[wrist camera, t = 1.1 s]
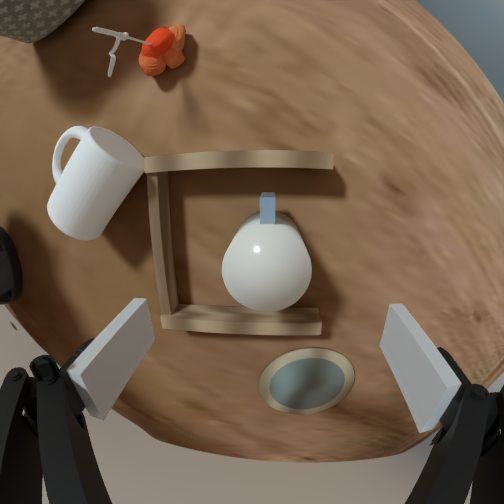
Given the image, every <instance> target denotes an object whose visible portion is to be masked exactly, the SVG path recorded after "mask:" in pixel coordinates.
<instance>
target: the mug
mask: <svg viewBox="0 0 504 504" xmlns="http://www.w3.org/2000/svg"><path fill="white" fill-rule="evenodd" d="M72 137H75V138H77V139H79V140H81V141H80V143H79V144H78V146H77V148H76V149H75V151H74V153H73V154H72V156H71V158H70V160H69V161H68V163H67V165H66V167H65V169H64V171H63V172H62V169H61V164H60V162H61V156H62V153H63V151H64V148H65V146H66V144H67V142H68V141H69V139H70V138H72ZM52 171H53V177H54V180H55V182H56V186H55V188H54V190H53V192H52V194H51V197H50V199H49V201H48V205H47V210H48V214H49V216H50V218H51V220H52V222H53V223H54V224H55V225H56V227H57V228H59V229H60V230H61V231H62V232H64V233H65V234H67V235H68V236H70V237H73V238H75V239H79V240H86V241H87V240H94V239H96V238H98V237H99V236H100V235H101V234H102V232H103V231H104V229H105V227H106V226H107V224H108V223H109V221H110V220H111V218H112V217H113V215H114V213H115V212H116V210H117V209H118V208H119V206H120V205H121V203H122V202H123V200H124V199H125V197H126V196H127V195H128V193H129V192H130V190H131V189H132V188H133V186H134V185H135V183H136V182H137V181H138V179H139V178H140V177H141V175H142V174H143V173H144V158H143V156H142V155H141V154H140V152H139V151H138V150H137V149H136V148H135V147H134V146H132V145H131V144H130V143H129V142H128V141H126V140H125V139H124V138H122V137H121V136H119V135H117V134H116V133H114V132H112V131H110V130H108V129H105V128H102V127H90V128H89V129H87V128H85V127H83V126H74V127H72V128H70V129H68V130H67V131H66V132H65V133H64V134H63V135H62V136H61V137H60V139H59V140H58V142H57V144H56V147H55V150H54V154H53V162H52Z"/></svg>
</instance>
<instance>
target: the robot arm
mask: <svg viewBox="0 0 504 504" xmlns="http://www.w3.org/2000/svg"><path fill="white" fill-rule="evenodd" d="M21 289H22V276H21V269H20V264H19V260H18V257H17V254H16V251H15V248H14V246H13V244H12V242H11V240H10V238H9V236H8V235H7V233H6V232H5V231H4V229H2V228H1V227H0V305H1V304H8V303H10V302H12V301H14V300H15V299H17V298H18V297H19V295H20V293H21ZM154 341H155V338H154V333H153V328H152V324H151V319H150V314H149V309H148V303H147V299H142V298H134V299H133V300H132V301H131V302H130V303H129V304H128V305H127V306H126V307H125V308H124V309H123V310H122V311H121V312H120V313H119V314H118V315H117V316H116V317H115V318H114V320H113V321H112V322H111V323H110V324H109V325H108V326H107V327H106V328H105V329H104V330H103V331H102V332H101V333H100V334H99V335H98V336H97V337H96V338H95V339H94V338H92V339H90V340H88V341H87V342H85V343H84V344H83V345H82V346H81V347H80V348H79V349H78V350H77V351H76V352H75V353H74V355H72V356H71V357H70V358H69V359H68V361H67V362H66V363H65V364H64V365H63V366H62V367H61V368H60V369H59V368H58V366H57V364H56V361H55V359H54V358H53V357H52V356H50V355H41V356H39V357H37V358H35V359H33V361H32V362H31V363H30V366H29V367H30V369H31V371H32V373H33V375H34V377H29V375H28V374H27V372H26V370H25V369H24V368H20V367H18V368H14V369H12V370H11V371H9V372H8V374H7V375H6V377H5V379H4V381H3V384H2V386H1V388H0V504H42V478H43V476H44V481H45V486H46V491H47V496H48V500H49V504H112V502H111V500H110V497H109V495H108V492H107V490H106V487H105V485H104V482H103V479H102V476H101V474H100V471H99V468H98V465H97V461H96V458H95V455H94V452H93V449H92V445H91V441H90V437H89V433H88V429H87V425H86V421H85V417H84V415H83V413H82V411H83V410H84V408H85V407H86V409H87V410H88V412H89V414H90V415H91V416H93V417H96V418H99V419H101V420H104V419H105V418H106V416H107V414H108V413H109V411H110V410H111V408H112V406H113V405H114V403H115V401H116V400H117V398H118V397H119V395H120V393H121V392H122V390H123V389H124V387H125V386H126V384H127V382H128V381H129V379H130V378H131V376H132V375H133V373H134V371H135V370H136V368H137V367H138V365H139V364H140V362H141V361H142V359H143V357H144V356H145V354H146V353H147V351H148V350H149V348H150V347H151V345H152V344H153V342H154ZM379 346H380V348H381V350H382V352H383V354H384V356H385V358H386V360H387V362H388V364H389V366H390V368H391V370H392V372H393V375H394V377H395V379H396V381H397V383H398V385H399V387H400V389H401V392H402V394H403V396H404V398H405V401H406V403H407V405H408V407H409V410H410V412H411V414H412V417H413V419H414V421H415V424H416V426H417V428H418V431H419V433H421V432H425V431H428V430H432V429H434V428H435V426H436V425H437V423H438V422H439V420H440V422H441V424H442V427H441V429H440V430H439V432H438V433H437V434H436V436H435V437H434V438H433V440H432V441H435V439H436V441H435V443H434V446H433V448H432V450H431V453H430V455H429V458H428V460H427V462H426V464H425V466H424V468H423V470H422V473H421V475H420V477H419V479H418V481H417V482H416V484H415V486H414V488H413V490H412V492H411V494H410V496H409V497H408V499H407V501H406V502H405V504H464V503H465V500H466V497H467V495H468V492H469V489H470V486H471V483H472V480H473V483H472V492H471V499H470V504H504V386H503V387H502V389H501V390H500V392H494V393H489V392H488V391H487V389H486V388H485V387H483V386H481V385H479V384H471V383H470V381H469V380H468V378H467V377H466V376H465V374H464V373H463V371H462V370H461V369H460V367H459V366H457V363H456V362H455V361H454V359H453V358H452V356H451V355H450V354H449V353H448V352H447V351H446V350H444V349H443V348H441V347H439V348H436V347H435V345H434V344H433V343H432V341H431V340H430V339H429V337H428V336H427V335H426V333H425V332H424V331H423V330H422V328H421V327H420V326H419V324H418V323H417V322H416V321H415V319H414V318H413V317H412V316H411V314H410V313H409V312H408V311H407V309H406V308H405V307H404V306H403V305H402V304H390V305H389V310H388V314H387V318H386V322H385V326H384V330H383V334H382V338H381V342H380V345H379ZM23 410H24V411H25V414H24V416H23V415H22V412H23ZM500 429H501V434H500Z"/></svg>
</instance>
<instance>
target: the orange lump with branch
mask: <svg viewBox="0 0 504 504" xmlns="http://www.w3.org/2000/svg"><path fill="white" fill-rule="evenodd" d="M92 31H94V32H97V33H101V34H107V35H111V36H114V37H116V42H115V44H114V47H113V49H112V50H111V51H110V52H109V53H108V54H109V55H110V56H111V60H110V64H109V69H108V77H111V75H112V72H113V68H114V64H115V61H116V57H115V55H114V54H113V53H114V52H115V51H116V50H117V48H118V46H119V44H120V41H121V40H122V41H124V40H127V39H130V40H134V41H137V42H141V43H143V44H142V50H141V53H140V55H139V64H140V67H141V68H142V69H143V71H144V73H145V74H146V75H147V76H154V75H158V74H160V73H162V72H163V71H164V70H165V68H166V65H167V66H169V67H170V68H172V69H173V68H176V67H178V66H180V65H181V64H182V63H183V62H184V60H185V57H184V55H183V53H182V49H183V47H184V43H185V33H186V29H185V27H184V26H183V25H174V26H171V27H169V28H166V27H160V28H158V29H156V30H155V31H153V32H152V33H151V35H150V36H149V37H148V38H147V39H146V40H145V41H142V40H139V39H136V38H133V37H129V33H127V32H124V33H121V32H116V31H112V30H108V29H107V30H106V29H103V28H99V27H94V28H92Z"/></svg>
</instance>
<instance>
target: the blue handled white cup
mask: <svg viewBox="0 0 504 504" xmlns="http://www.w3.org/2000/svg"><path fill="white" fill-rule="evenodd" d="M311 275H312V265H311V260H310V257H309V254H308V252H307V249H306V247H305V244H304V242H303V239H302V237H301V235H300V232H299V230H298V228H297V226H296V224H295V223H294V222H293V220H292V219H290V218H289V217H288V216H287V215H285V214H283V213H281V212H278V211H275V192H262V194H261V196H260V211H259V212H256V213H254V214H252V215H251V216H249V217H248V218H247V219H246V220H245V221H244V222H243V223H242V225H241V226H240V228H239V230H238V231H237V233H236V235H235V237H234V239H233V240H232V242H231V244H230V246H229V247H228V249H227V251H226V253H225V255H224V259H223V263H222V276H223V280H224V283H225V286H226V288H227V290H228V291H229V293H230V294H231V295H232V297H233V298H234V299H235V300H236V301H238V302H239V303H240V304H242V305H244V306H245V307H248V308H250V309H253V310H256V311H262V312H272V311H278V310H282V309H284V308H287V307H289V306H291V305H292V304H294V303H295V302H297V301H298V300H299V299H300V298H301V297H302V296H303V294H304V293H305V291H306V290H307V288H308V286H309V283H310V280H311Z"/></svg>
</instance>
